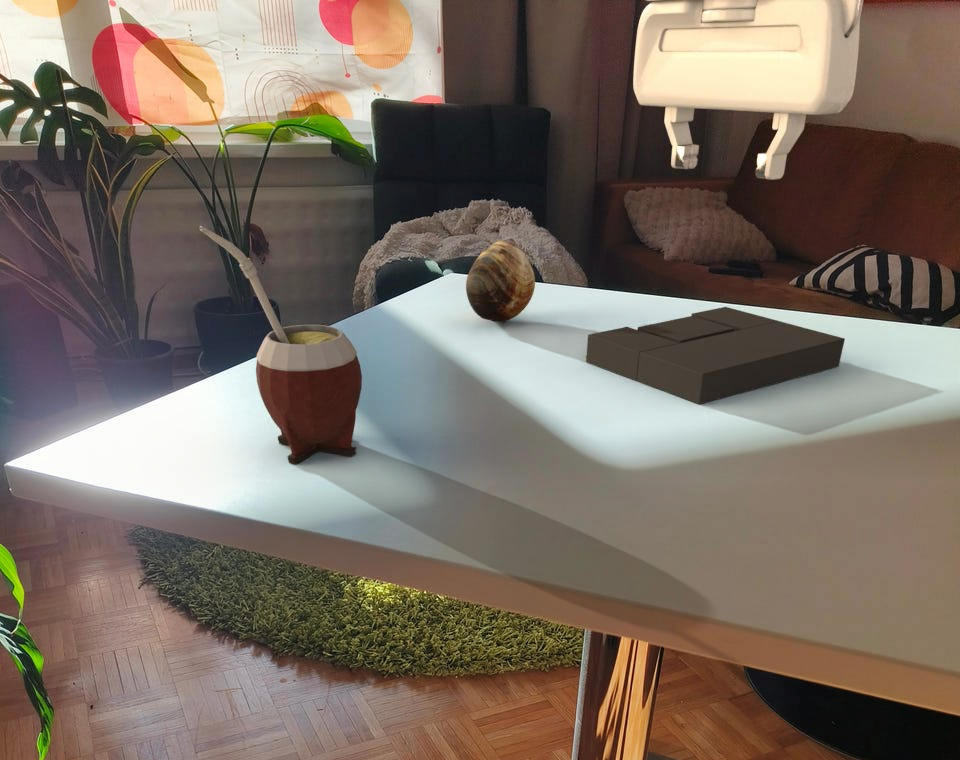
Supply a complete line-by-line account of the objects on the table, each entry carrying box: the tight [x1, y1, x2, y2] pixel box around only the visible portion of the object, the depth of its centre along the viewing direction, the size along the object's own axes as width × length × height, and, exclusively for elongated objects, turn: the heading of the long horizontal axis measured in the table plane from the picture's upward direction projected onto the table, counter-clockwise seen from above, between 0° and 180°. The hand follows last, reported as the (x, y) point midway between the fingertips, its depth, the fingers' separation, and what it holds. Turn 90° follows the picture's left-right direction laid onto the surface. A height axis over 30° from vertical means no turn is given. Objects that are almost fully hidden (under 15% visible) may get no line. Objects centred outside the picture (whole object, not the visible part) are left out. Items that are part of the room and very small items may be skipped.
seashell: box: [465, 236, 536, 323], centre depth 91 cm, size 10×6×8 cm, turn 143°
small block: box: [636, 315, 734, 343], centre depth 83 cm, size 7×6×2 cm
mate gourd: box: [199, 225, 363, 465], centre depth 59 cm, size 8×8×15 cm
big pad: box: [585, 306, 846, 405], centre depth 80 cm, size 18×14×2 cm
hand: (724, 173), depth 75 cm, fingers open, 8 cm apart
